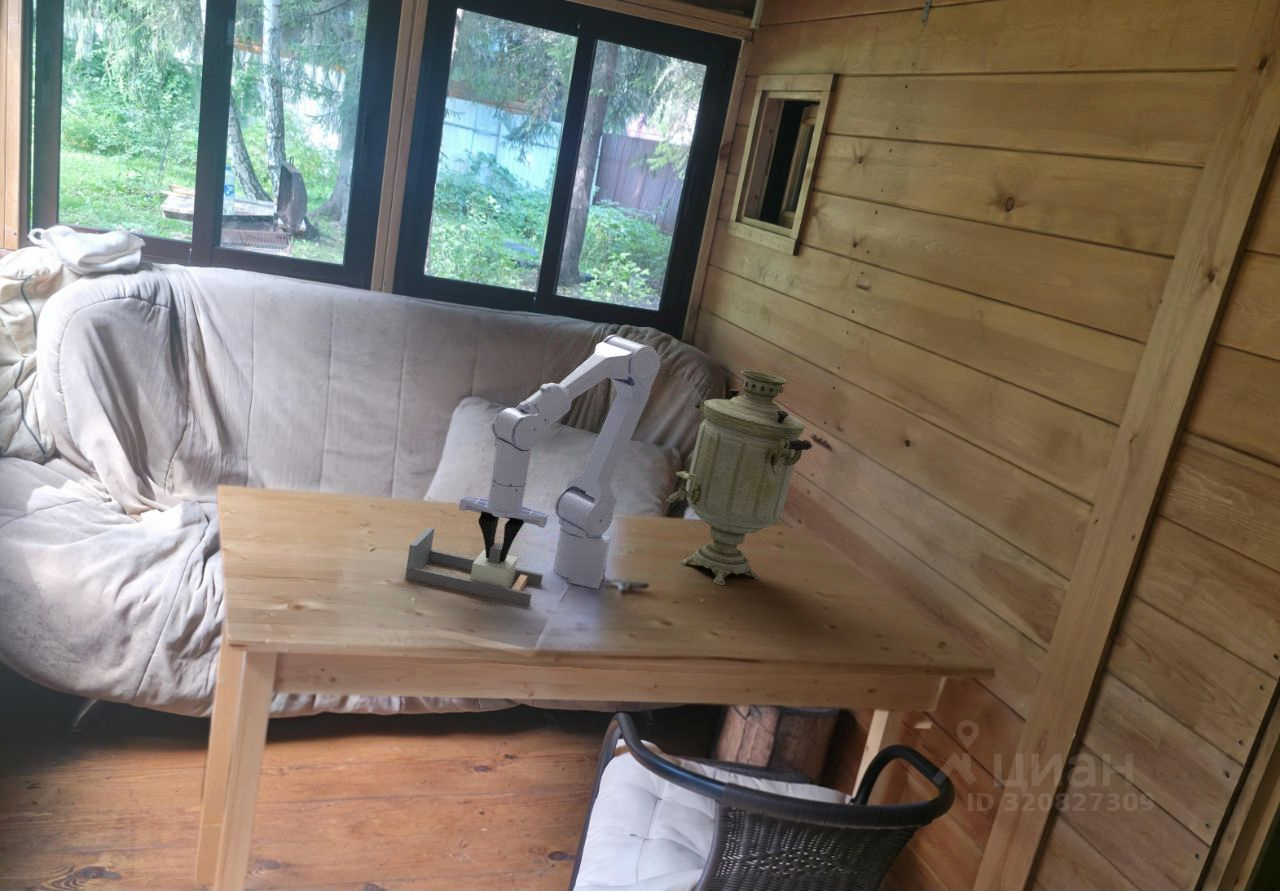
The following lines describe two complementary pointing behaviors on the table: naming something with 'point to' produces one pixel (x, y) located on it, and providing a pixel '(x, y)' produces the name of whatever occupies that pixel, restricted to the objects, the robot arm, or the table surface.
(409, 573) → the bay
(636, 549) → the table surface
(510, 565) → the pale green knobbed block
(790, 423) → the samovar
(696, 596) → the table surface
